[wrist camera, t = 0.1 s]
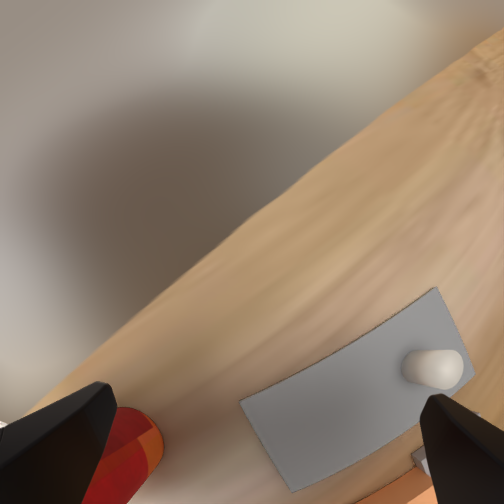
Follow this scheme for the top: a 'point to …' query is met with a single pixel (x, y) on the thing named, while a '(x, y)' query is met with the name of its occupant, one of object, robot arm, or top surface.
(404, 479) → the square frame with handle
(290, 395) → the keeper
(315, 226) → the top surface
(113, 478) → the coffee cup
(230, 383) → the top surface
